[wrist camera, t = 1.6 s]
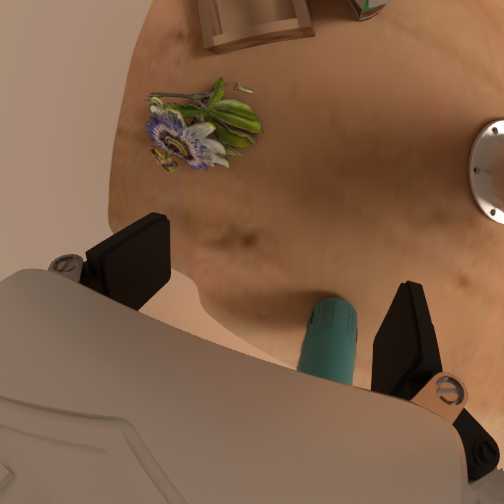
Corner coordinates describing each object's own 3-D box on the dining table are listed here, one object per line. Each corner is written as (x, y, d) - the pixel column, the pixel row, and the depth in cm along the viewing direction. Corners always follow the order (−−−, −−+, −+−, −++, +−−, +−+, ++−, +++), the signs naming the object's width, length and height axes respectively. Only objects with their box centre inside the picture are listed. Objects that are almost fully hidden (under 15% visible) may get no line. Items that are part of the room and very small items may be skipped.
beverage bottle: (312, 287, 38) (273, 415, 21) (362, 291, 36) (353, 426, 19) (310, 325, 41) (274, 447, 24) (355, 329, 39) (340, 456, 22)
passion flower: (217, 143, 39) (134, 155, 33) (229, 70, 32) (137, 71, 26) (264, 180, 33) (163, 199, 27) (285, 89, 26) (169, 86, 19)
